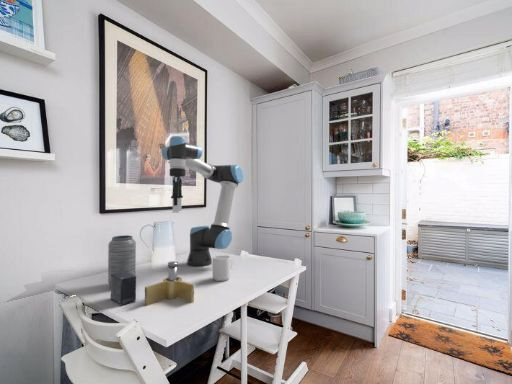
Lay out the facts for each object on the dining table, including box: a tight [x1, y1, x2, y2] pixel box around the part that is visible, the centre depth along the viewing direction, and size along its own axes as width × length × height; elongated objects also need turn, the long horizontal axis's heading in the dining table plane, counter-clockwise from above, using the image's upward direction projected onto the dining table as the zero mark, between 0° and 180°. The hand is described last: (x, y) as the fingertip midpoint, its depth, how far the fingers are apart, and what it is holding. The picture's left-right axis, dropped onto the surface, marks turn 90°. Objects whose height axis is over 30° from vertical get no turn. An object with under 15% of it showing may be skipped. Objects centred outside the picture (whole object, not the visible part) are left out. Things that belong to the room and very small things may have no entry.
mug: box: [212, 254, 234, 282], centre depth 139 cm, size 12×9×11 cm
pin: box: [167, 261, 179, 281], centre depth 115 cm, size 4×4×14 cm
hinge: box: [144, 276, 195, 306], centre depth 113 cm, size 13×19×7 cm
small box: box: [109, 271, 137, 307], centre depth 110 cm, size 11×6×10 cm, turn 48°
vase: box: [107, 234, 137, 286], centre depth 128 cm, size 12×12×23 cm
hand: (177, 211), depth 132 cm, fingers open, 13 cm apart
